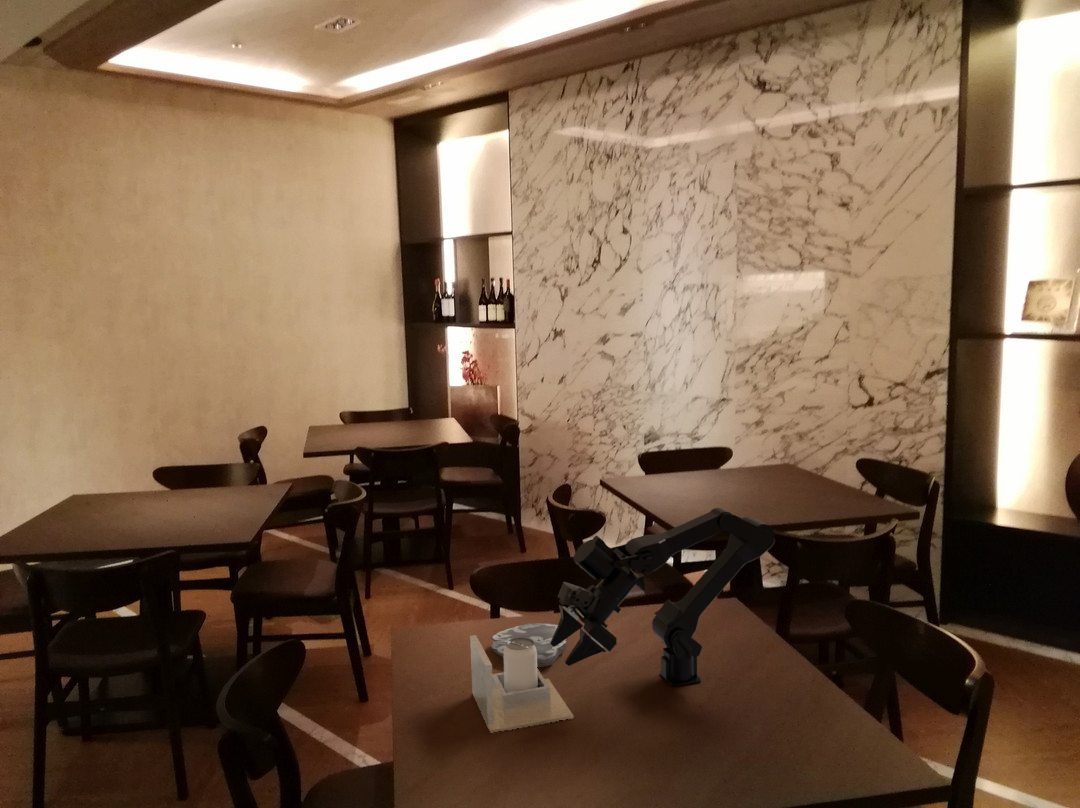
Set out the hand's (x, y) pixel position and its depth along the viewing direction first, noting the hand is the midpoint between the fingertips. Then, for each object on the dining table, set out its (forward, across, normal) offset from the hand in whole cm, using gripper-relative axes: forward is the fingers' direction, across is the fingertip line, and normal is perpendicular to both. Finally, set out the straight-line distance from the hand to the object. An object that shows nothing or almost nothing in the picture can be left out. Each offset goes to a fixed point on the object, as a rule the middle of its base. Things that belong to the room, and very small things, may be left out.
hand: (559, 654), depth 157 cm
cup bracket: (+12, 0, +1) cm, 12 cm away
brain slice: (+7, -23, +7) cm, 25 cm away
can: (+12, 0, 0) cm, 12 cm away
